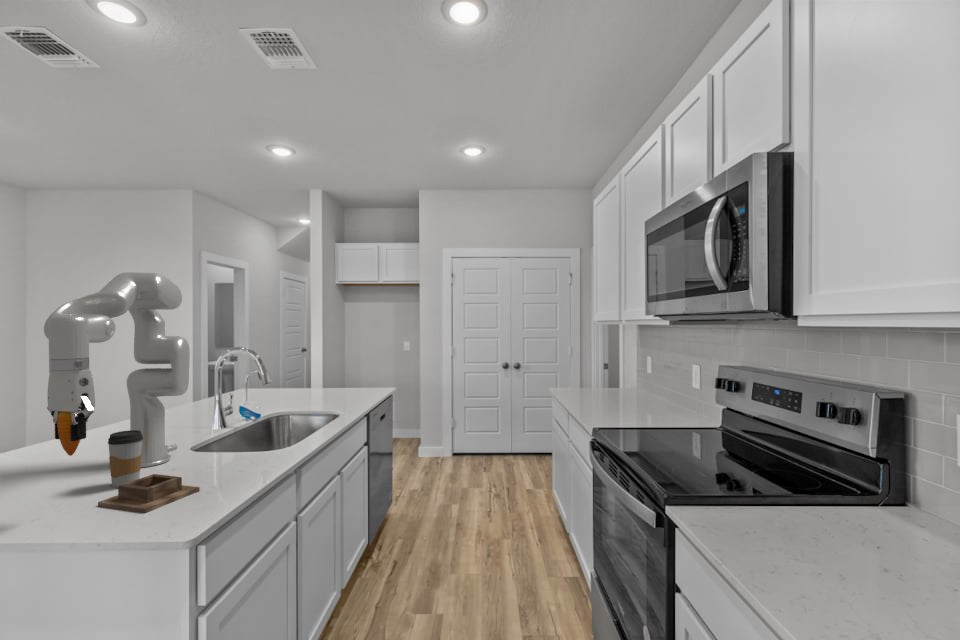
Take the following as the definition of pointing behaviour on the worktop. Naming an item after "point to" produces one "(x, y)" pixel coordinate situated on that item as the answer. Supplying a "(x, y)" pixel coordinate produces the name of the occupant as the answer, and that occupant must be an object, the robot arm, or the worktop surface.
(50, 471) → the worktop surface
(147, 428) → the robot arm
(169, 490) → the walnut stand
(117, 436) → the coffee cup
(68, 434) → the carrot
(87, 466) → the worktop surface
